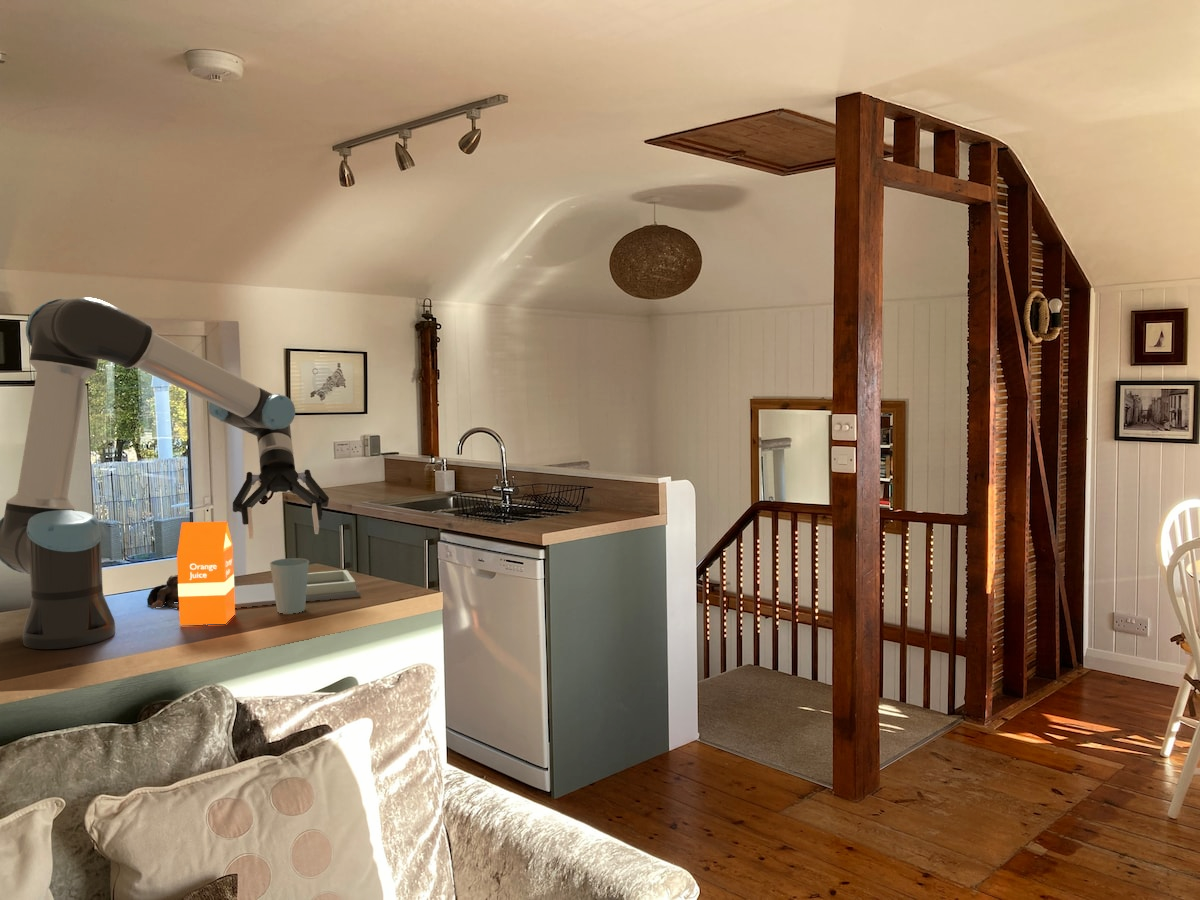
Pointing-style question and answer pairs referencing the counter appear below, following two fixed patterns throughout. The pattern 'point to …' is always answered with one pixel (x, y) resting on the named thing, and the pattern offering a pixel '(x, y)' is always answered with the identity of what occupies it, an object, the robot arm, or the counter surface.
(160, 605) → the stuffed animal
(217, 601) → the orange juice
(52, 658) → the counter surface
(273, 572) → the cup
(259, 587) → the board
